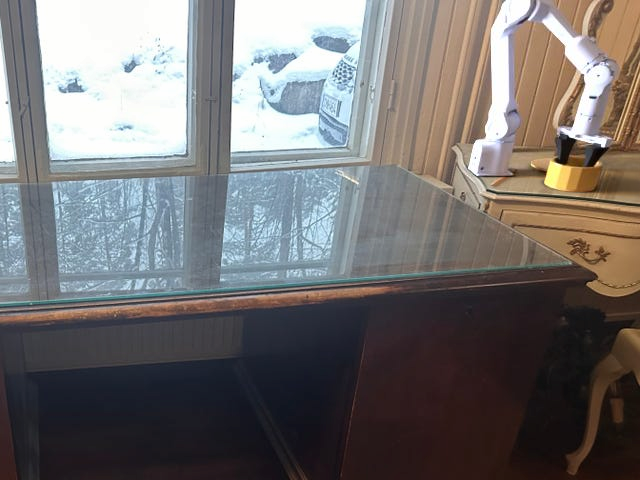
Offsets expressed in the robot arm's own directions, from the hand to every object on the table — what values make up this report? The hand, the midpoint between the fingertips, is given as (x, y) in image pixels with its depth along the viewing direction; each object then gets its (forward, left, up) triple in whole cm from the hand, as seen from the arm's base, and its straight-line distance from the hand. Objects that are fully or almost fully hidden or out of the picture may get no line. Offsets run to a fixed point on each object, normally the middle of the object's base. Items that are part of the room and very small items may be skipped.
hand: (573, 169), depth 172 cm
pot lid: (+3, +15, -3) cm, 16 cm away
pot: (0, 0, -4) cm, 4 cm away
